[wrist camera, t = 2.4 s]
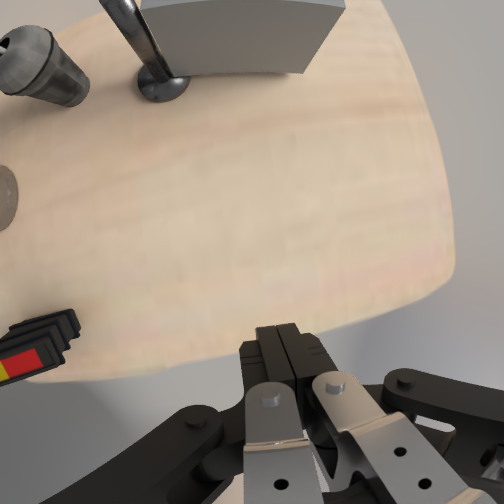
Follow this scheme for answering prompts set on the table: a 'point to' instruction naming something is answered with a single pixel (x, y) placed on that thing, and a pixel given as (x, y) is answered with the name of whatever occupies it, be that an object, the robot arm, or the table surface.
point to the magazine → (36, 345)
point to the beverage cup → (40, 68)
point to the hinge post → (145, 52)
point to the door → (240, 33)
